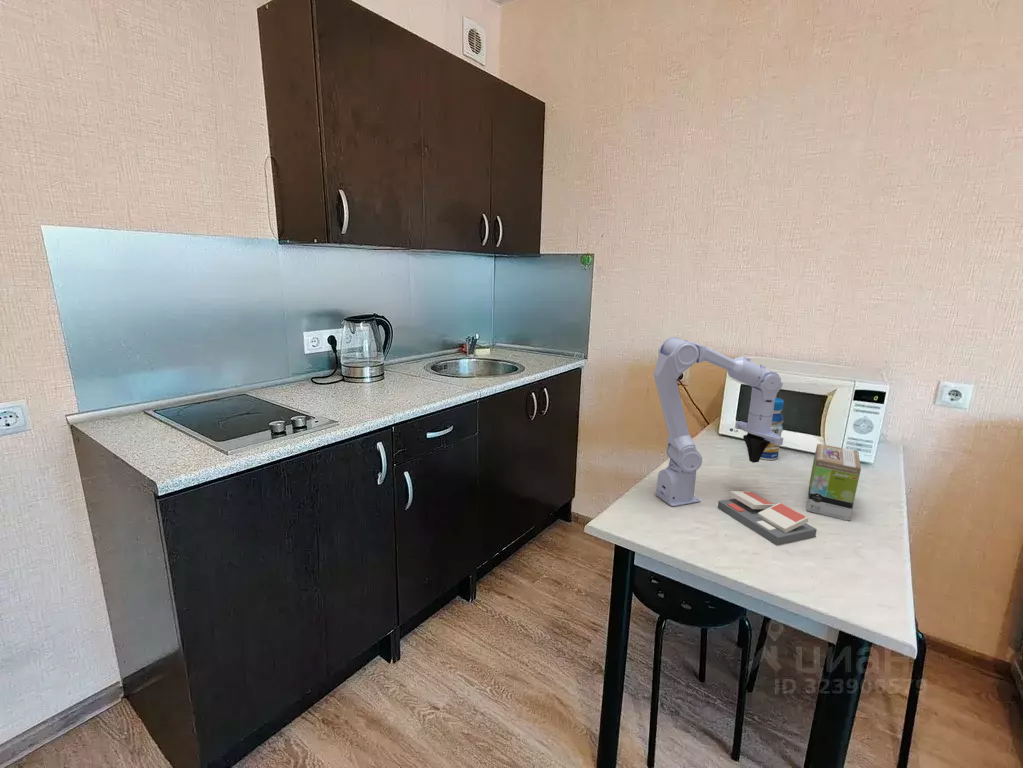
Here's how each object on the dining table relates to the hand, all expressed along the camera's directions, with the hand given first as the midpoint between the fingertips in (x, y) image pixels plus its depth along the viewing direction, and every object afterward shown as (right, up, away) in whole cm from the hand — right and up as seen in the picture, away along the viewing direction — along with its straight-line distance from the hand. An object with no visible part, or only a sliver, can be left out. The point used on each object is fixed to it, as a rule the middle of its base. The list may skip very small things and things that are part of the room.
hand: (754, 461), depth 136 cm
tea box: (+19, -12, -2) cm, 23 cm away
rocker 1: (-4, -9, -7) cm, 12 cm away
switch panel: (-3, -13, -11) cm, 18 cm away
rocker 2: (-1, -11, -16) cm, 19 cm away
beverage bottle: (+19, -3, +32) cm, 38 cm away
